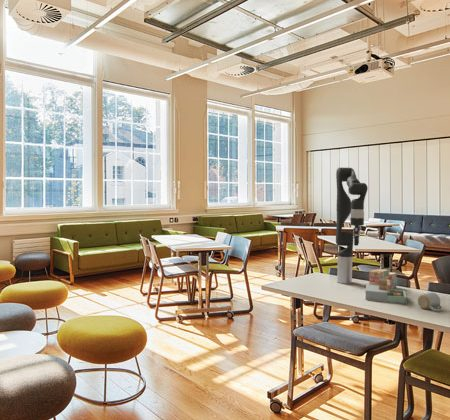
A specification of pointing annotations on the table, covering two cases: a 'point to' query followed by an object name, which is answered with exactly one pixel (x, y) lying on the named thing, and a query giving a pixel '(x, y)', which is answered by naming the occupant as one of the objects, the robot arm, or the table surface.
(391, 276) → the stack of blocks
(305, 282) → the table surface
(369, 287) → the grey flat block
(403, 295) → the tray
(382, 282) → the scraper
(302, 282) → the table surface
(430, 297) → the ceramic mug
